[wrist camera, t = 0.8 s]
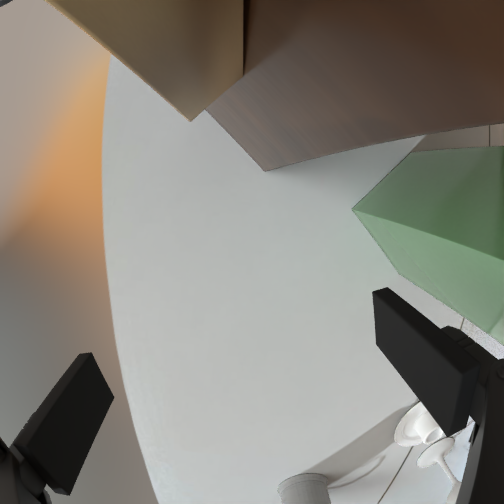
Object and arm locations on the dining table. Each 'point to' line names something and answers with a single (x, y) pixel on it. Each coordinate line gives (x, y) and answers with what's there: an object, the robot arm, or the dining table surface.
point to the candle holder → (417, 428)
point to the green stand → (446, 228)
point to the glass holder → (304, 490)
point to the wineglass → (441, 464)
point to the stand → (361, 74)
